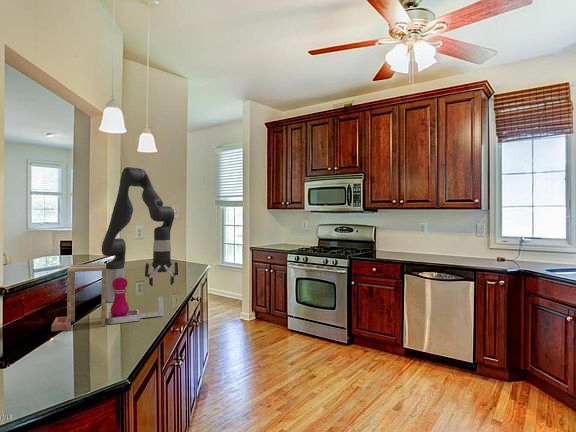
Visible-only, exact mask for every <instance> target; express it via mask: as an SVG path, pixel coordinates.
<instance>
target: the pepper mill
mask: <svg viewBox="0 0 576 432" xmlns="http://www.w3.org/2000/svg"><path fill="white" fill-rule="evenodd" d="M128 283H129V282H128V281H127V278H125V277H124V278H122V275H121V274H119V275H118V278H117V279H115V280H114V281H113V283H112V286H113V288H114V293H115V298H114V302H112V305H111V307H110V312H111V314H112V315H113V316H112V317H120V316H128V315H126V314H127V313H128V311H129V310H130V307H129V305H128V302H127V299H126V292H127V287H128Z"/></svg>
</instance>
